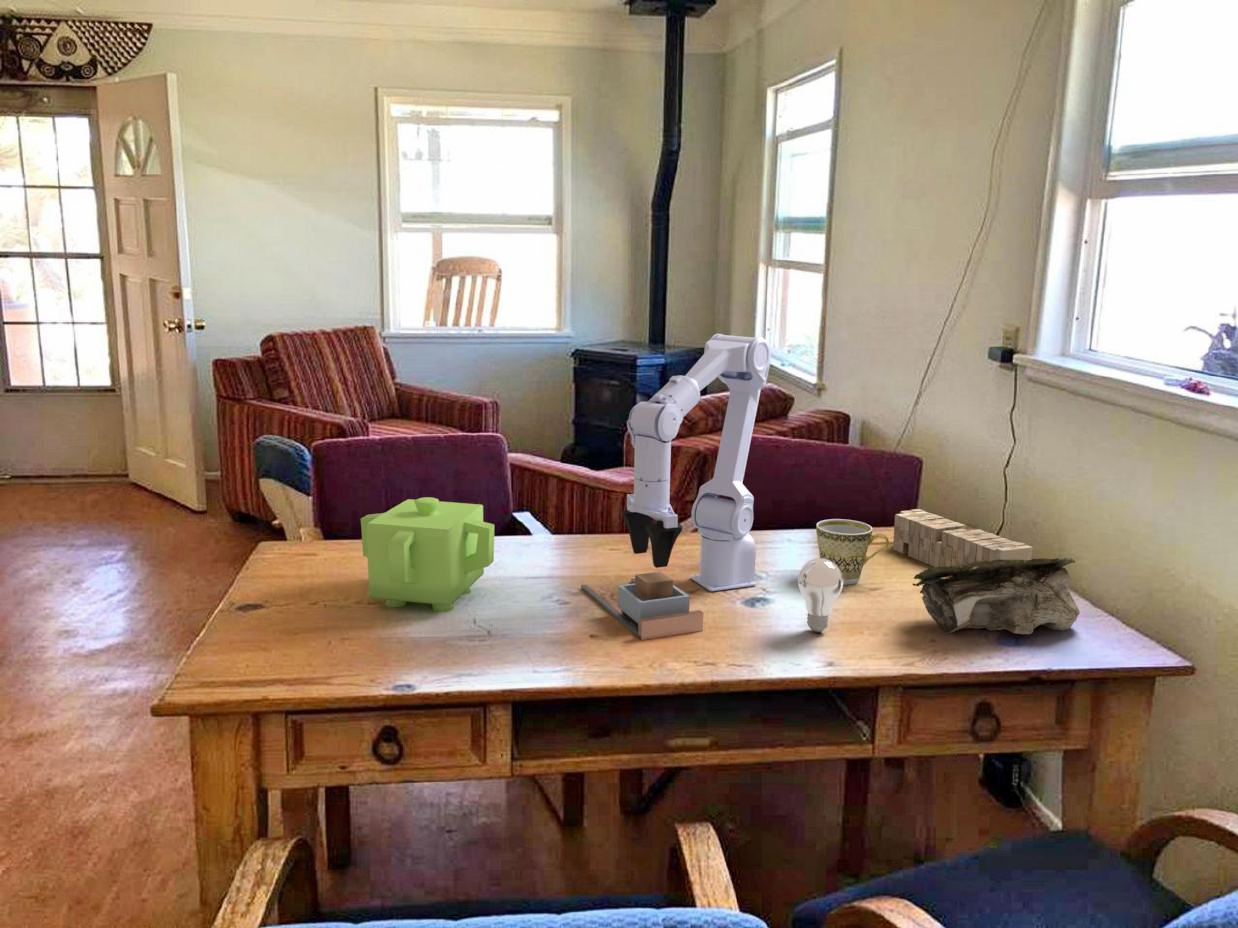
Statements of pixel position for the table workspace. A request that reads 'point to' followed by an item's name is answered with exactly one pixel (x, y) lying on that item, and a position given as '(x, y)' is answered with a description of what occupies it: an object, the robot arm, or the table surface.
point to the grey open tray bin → (651, 603)
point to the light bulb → (819, 590)
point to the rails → (654, 620)
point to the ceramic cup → (846, 545)
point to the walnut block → (653, 586)
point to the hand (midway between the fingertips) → (650, 559)
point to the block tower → (950, 541)
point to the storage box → (426, 551)
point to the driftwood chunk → (1000, 595)
